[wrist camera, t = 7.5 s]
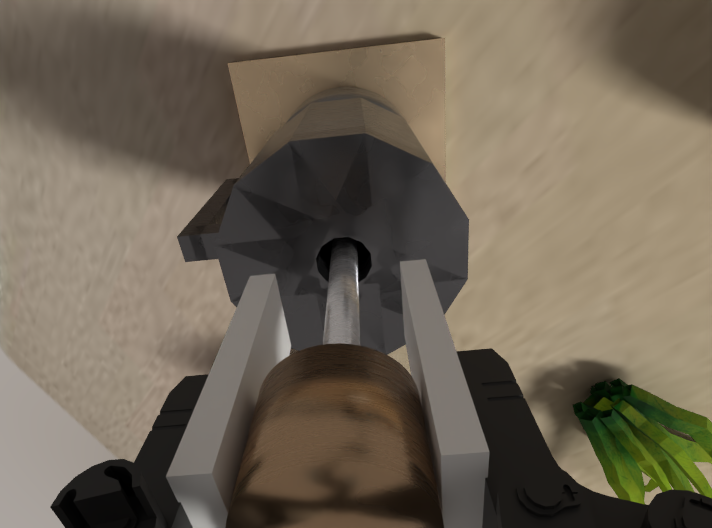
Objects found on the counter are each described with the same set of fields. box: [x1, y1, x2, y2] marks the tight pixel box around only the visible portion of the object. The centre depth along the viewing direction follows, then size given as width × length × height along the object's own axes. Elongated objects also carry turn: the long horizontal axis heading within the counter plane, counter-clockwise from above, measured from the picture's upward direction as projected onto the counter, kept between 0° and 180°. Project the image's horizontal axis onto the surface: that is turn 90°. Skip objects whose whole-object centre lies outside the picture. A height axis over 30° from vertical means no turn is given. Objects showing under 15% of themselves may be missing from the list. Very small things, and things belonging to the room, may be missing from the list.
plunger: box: [225, 237, 444, 528], centre depth 15 cm, size 4×4×18 cm
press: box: [177, 38, 469, 355], centre depth 23 cm, size 13×14×16 cm
